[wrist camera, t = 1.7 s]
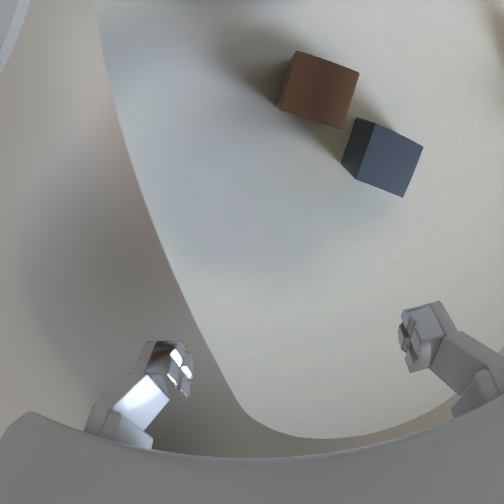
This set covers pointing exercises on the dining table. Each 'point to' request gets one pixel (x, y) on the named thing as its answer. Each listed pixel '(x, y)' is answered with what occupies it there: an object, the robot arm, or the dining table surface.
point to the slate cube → (381, 157)
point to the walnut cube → (317, 89)
